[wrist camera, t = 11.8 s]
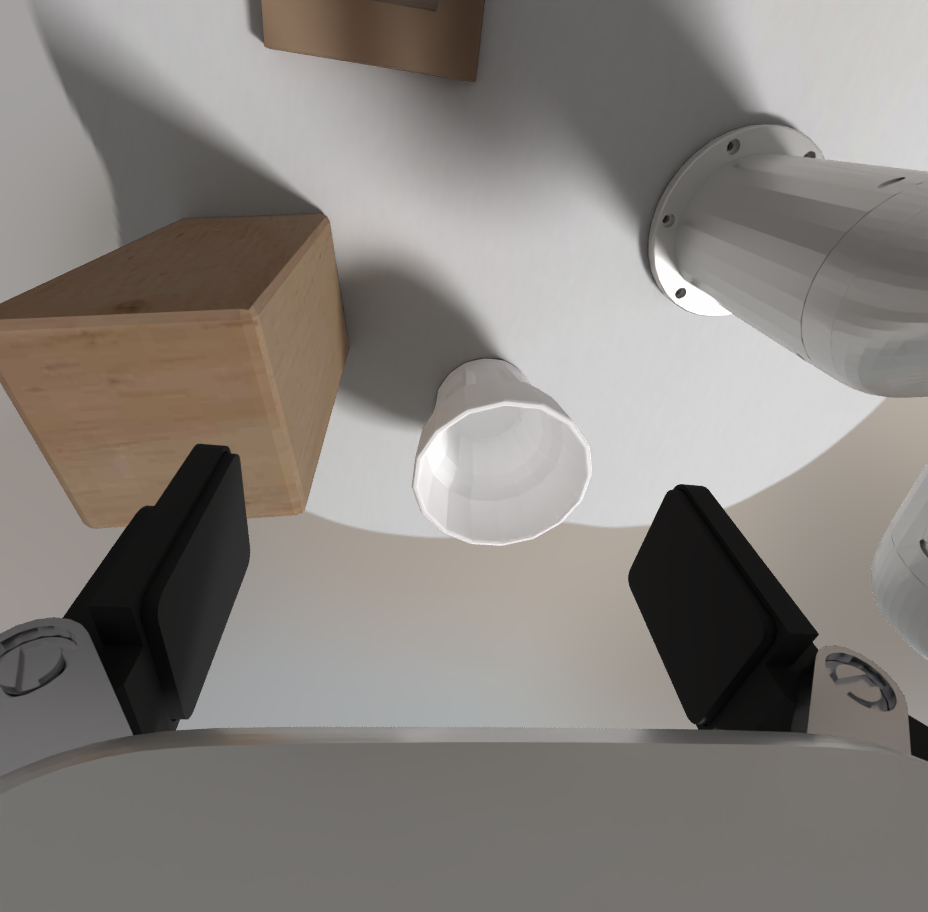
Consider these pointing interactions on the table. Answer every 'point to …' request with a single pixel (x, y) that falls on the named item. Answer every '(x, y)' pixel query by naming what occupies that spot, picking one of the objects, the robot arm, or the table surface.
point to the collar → (414, 3)
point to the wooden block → (183, 362)
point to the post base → (380, 33)
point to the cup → (498, 457)
